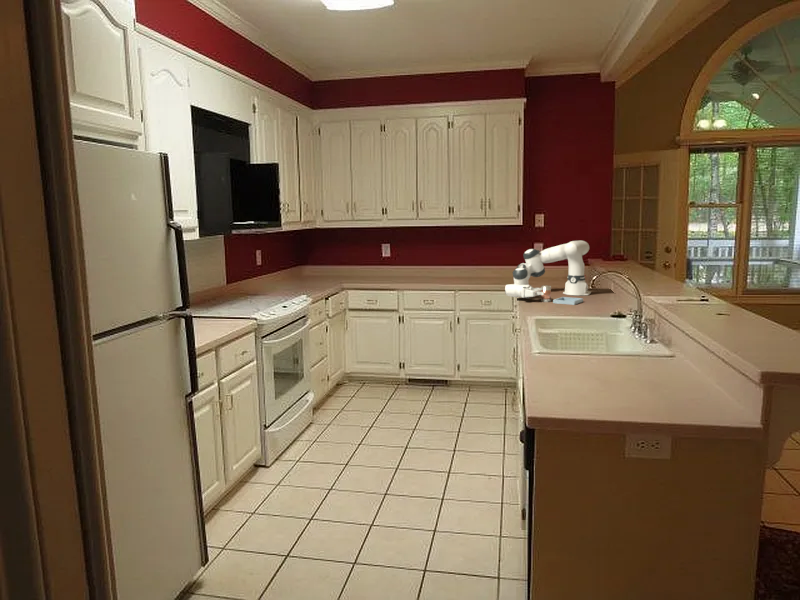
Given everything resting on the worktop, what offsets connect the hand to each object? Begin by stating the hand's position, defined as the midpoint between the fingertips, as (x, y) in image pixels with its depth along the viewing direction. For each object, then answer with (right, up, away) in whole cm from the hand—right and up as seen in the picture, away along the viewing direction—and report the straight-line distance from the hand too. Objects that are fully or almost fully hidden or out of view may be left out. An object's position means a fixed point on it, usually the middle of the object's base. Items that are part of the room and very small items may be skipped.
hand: (546, 292), depth 380 cm
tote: (+13, -7, -5) cm, 15 cm away
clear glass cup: (0, -6, +1) cm, 7 cm away
